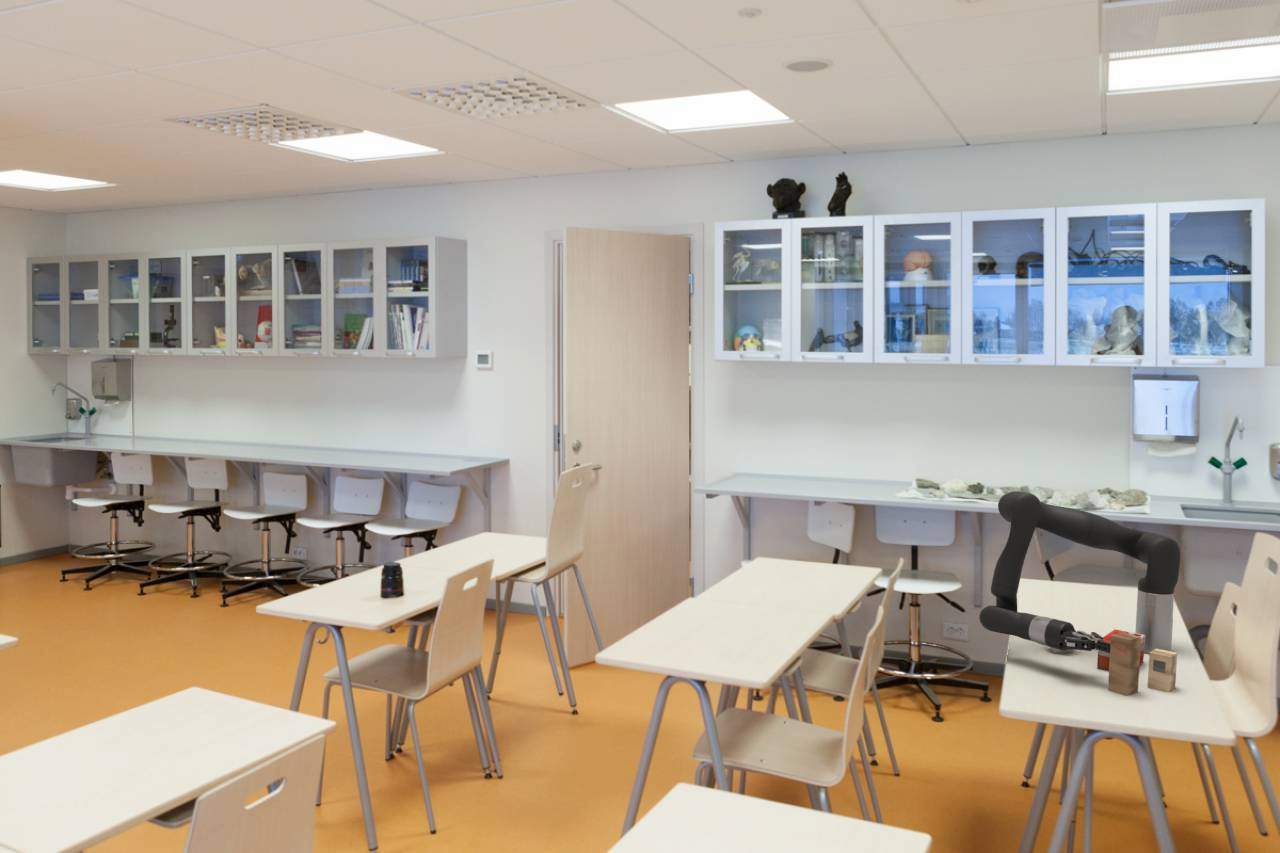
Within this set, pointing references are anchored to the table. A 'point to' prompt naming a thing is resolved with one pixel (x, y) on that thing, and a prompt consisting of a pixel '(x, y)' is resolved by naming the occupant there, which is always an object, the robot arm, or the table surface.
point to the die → (1062, 650)
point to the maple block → (1162, 670)
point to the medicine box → (1105, 656)
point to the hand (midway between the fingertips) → (1113, 648)
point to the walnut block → (1124, 663)
